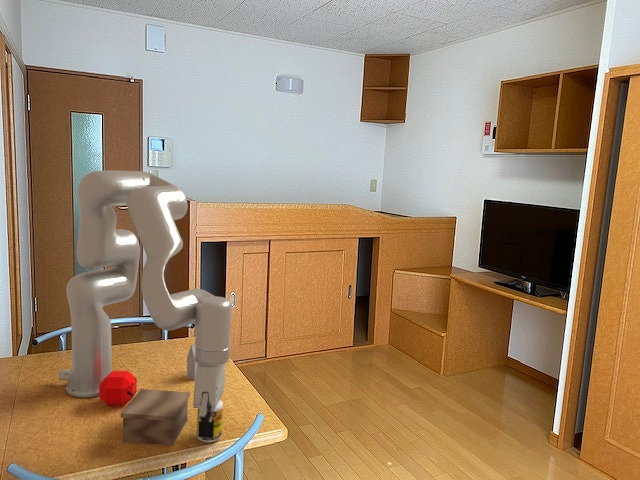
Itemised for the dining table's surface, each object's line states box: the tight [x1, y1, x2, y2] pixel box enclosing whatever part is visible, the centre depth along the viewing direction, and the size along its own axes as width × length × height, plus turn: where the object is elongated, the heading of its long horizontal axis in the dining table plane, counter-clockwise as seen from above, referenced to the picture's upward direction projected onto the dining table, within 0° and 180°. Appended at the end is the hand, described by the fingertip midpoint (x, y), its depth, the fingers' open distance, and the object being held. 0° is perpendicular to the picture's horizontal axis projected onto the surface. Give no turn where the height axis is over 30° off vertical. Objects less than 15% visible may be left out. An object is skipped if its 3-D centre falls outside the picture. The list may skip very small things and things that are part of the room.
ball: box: [98, 370, 138, 407], centre depth 127 cm, size 8×8×8 cm
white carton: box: [186, 343, 198, 381], centre depth 145 cm, size 4×7×10 cm, turn 140°
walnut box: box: [120, 388, 191, 446], centre depth 115 cm, size 12×12×7 cm
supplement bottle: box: [196, 400, 224, 443], centre depth 113 cm, size 6×6×10 cm
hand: (209, 428), depth 113 cm, fingers closed on supplement bottle, 5 cm apart
